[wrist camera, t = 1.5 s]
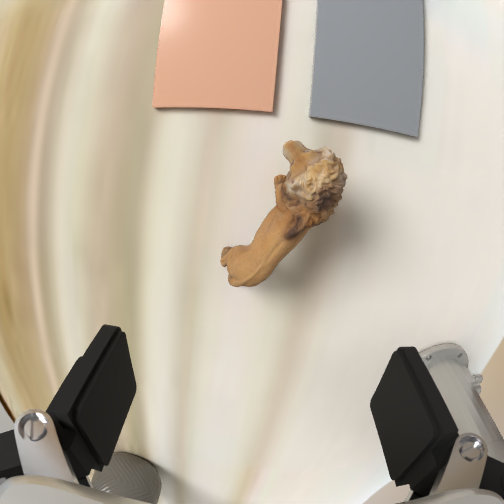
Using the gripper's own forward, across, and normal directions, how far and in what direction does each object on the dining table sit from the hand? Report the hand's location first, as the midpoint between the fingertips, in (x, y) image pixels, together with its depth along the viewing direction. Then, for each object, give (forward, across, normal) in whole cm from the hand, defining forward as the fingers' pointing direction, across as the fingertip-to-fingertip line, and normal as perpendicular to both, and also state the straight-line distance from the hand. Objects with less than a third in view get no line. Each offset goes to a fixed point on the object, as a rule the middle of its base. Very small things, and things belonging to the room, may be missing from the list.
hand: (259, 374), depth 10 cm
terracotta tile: (+20, +5, -17) cm, 26 cm away
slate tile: (+20, -8, -17) cm, 27 cm away
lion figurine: (+19, -1, 0) cm, 19 cm away
